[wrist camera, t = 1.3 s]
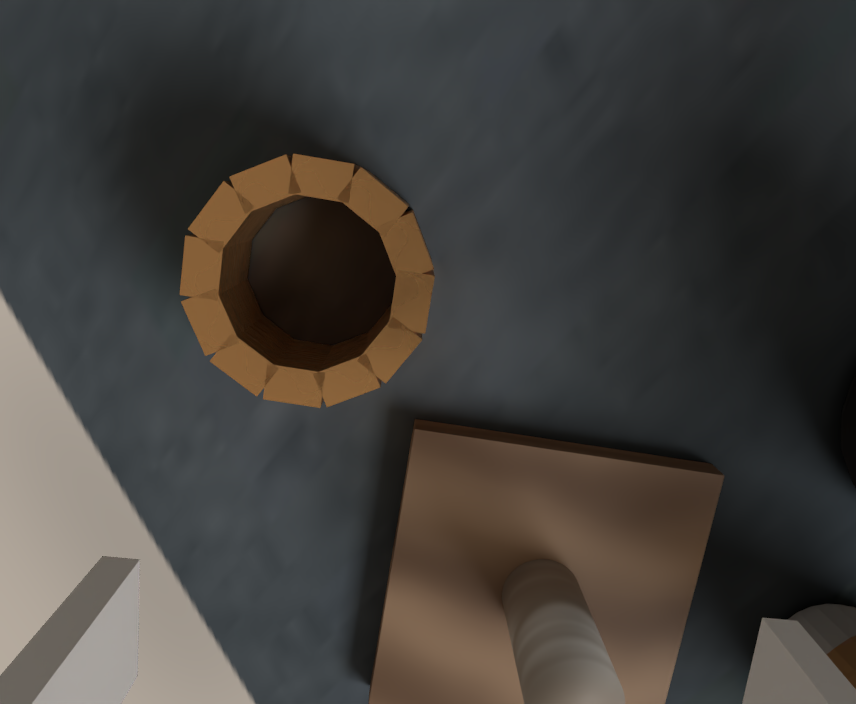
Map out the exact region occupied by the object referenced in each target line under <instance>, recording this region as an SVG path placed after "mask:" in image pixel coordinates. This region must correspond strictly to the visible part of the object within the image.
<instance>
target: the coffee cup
mask: <svg viewBox="0 0 856 704" xmlns="http://www.w3.org/2000/svg"><path fill="white" fill-rule="evenodd" d="M787 620H794V621H798V622H799V623H800V624H801V625H802V627H803V628H804V629H805V630H806V631H807V632H808V634H809V635H810V636H811V637H812V638H813V640H814V641H815V642H816V643H817V644H818V645H819V647H820V648H821V649H822V650H823V651H824V653H825V654H826V655H827V656H828V657H829V658H830V660H831V661H832V662H833V663H834V664H835V665H836V667H837V668H838V669H839V670H840V671H841V673H842V674H843V675H844V676H845V677H846V678H847V680H848V681H849V682H850V683H851V684H852V686H853V687H854V688H855V689H856V608H855V607H850V606H845V605H839V604H822V605H816V606H811V607H809V608H807V609H804V610H802V611H799V612H797V613H796V614H794V615H793V616H792V617H790V618H789V619H787Z"/></svg>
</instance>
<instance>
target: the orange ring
mask: <svg viewBox="0 0 856 704" xmlns="http://www.w3.org/2000/svg"><path fill="white" fill-rule="evenodd" d="M230 180H231V181H223V182H222V184H221V185H220V186H219V188H218V189H217V190H216V192H215V193H214V194H213V196H212V197H211V199H210V200H209V201H208V203H207V204H206V205H205V207H204V208H203V209H202V211H201V212H200V213H199V215H198V216H197V217H196V219H195V220H194V221H193V223H192V224H191V225H190V227H189V228H188V230H190V231H191V232H192V233H193V234H191V235H185V244H184V254H183V265H182V275H181V286H180V295H184V296H190V298H188V299H185V300H183V301H181V303H182V305H183V308H184V310H185V312H186V314H187V316H188V319H189V321H190V323H191V325H192V327H193V330H194V332H195V334H196V336H197V338H198V341H199V343H200V345H201V347H202V349H203V352H204V354H205V356H206V355H209V354H211V353H214V352H216V354H215V355H214V356H213V358H212V359H211V360H210V362H212V363H213V364H214V365H215V366H217V367H218V368H219V369H221V370H222V371H223V372H225V373H226V374H227V375H229V376H230V377H231V378H233V379H234V380H235V381H237V382H238V383H239V384H241V385H242V386H243V387H245V388H246V389H247V390H249V391H250V392H251V393H253V394H254V395H255V396H258V394H259V393H260V392H261V391H262V389H263V388H264V387H265V388H264V396H263V399H265V400H272V401H278V402H285V403H291V404H298V405H305V406H311V407H318V408H320V407H321V405H322V403H323V401H325V404H326V406H327V407H329V406H332V405H334V404H337V403H340V402H342V401H345V400H348V399H350V398H353V397H356V396H358V395H361V394H364V393H367V392H369V391H372V390H375V389H377V388H380V387H381V381H383V382H384V383H387V381H388V380H389V379H390V378H391V377H392V375H393V374H394V373H395V372H396V371H397V369H398V368H399V367H400V366H401V365H402V363H403V362H404V361H405V360H406V359H407V357H408V356H409V355H410V354H411V353H412V351H413V350H414V349H415V348H416V347H417V345H418V344H419V343H420V342H421V341H422V333H425V331H426V325H427V319H428V313H429V307H430V301H431V295H432V289H433V283H434V277H435V275H434V271H433V269H434V267H433V264H432V260H431V256H430V254H429V251H428V248H427V246H426V243H425V240H424V238H423V235H422V232H421V230H420V227H419V224H418V222H417V219H416V216H415V214H414V211H413V209H412V210H410V211H407V212H405V210H406V209H407V208H408V207H409V204H408V203H407V202H406V201H405V200H403V199H402V198H401V197H400V196H399V195H397V194H396V193H395V192H394V191H393V190H391V189H390V188H389V187H388V186H387V185H385V184H384V183H383V182H382V181H381V180H379V179H378V178H377V177H376V176H375V175H373V174H372V173H371V172H370V171H368V170H366V169H364V168H362V167H360V166H358V165H355V164H352V163H346V162H340V161H334V160H328V159H322V158H316V157H310V156H304V155H299V154H293V156H290V155H287V154H285V155H283V156H280V157H278V158H275V159H273V160H270V161H268V162H265V163H263V164H260V165H258V166H255V167H252V168H250V169H247V170H245V171H242V172H240V173H237V174H235V175H232V176H230ZM307 196H308V197H314V198H320V199H326V200H332V201H338V202H343V203H344V204H345V205H346V206H347V207H349V208H350V209H351V210H352V211H354V212H355V213H356V214H357V215H358V216H360V217H361V218H362V219H363V220H365V221H366V222H367V223H368V224H369V225H371V226H372V227H373V228H374V229H376V230H377V231H378V232H379V233H380V236H381V238H382V241H383V244H384V246H385V249H386V251H387V254H388V256H389V259H390V262H391V264H392V267H393V269H394V272H395V274H396V281H395V287H394V294H393V300H392V304H391V305H390V306H389V308H388V309H387V310H386V311H385V312H384V314H383V315H382V316H381V317H380V319H379V320H378V321H377V322H376V323H375V325H374V326H373V327H372V328H371V330H370V331H369V332H367V333H364V334H362V335H359V336H356V337H354V338H351V339H348V340H346V341H343V342H340V343H338V344H335V345H328V344H321V343H315V342H308V341H302V340H296V339H293V338H292V337H291V336H290V335H288V334H287V333H286V332H284V331H283V330H282V329H281V328H279V327H278V326H277V325H275V324H274V323H273V322H272V321H270V320H269V319H268V318H266V317H265V316H264V315H263V313H262V311H261V308H260V306H259V304H258V301H257V299H256V297H255V294H254V292H253V290H252V288H251V285H250V283H249V281H248V273H249V264H250V255H251V246H252V240H253V238H254V237H255V236H256V234H257V233H258V232H259V230H260V229H261V228H262V226H263V225H264V224H265V223H266V221H267V220H268V219H269V217H270V216H271V215H272V213H273V212H274V211H275V209H276V208H279V207H281V206H284V205H287V204H289V203H292V202H294V201H297V200H299V199H302V198H304V197H307ZM404 212H405V213H404Z"/></svg>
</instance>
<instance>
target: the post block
mask: <svg viewBox="0 0 856 704" xmlns="http://www.w3.org/2000/svg"><path fill="white" fill-rule="evenodd" d="M723 480H724V475H723V474H722V473H721V472H720V471H719V470H718V469H717V468H716V467H714V466H713V465H712V464H710V463H703V462H697V461H690V460H684V459H677V458H671V457H664V456H657V455H651V454H644V453H638V452H631V451H624V450H618V449H611V448H605V447H598V446H591V445H585V444H578V443H572V442H565V441H558V440H552V439H545V438H539V437H532V436H525V435H519V434H512V433H506V432H499V431H492V430H486V429H479V428H473V427H466V426H459V425H453V424H446V423H440V422H433V421H426V420H420V419H415V420H414V426H413V432H412V438H411V444H410V450H409V456H408V462H407V468H406V474H405V480H404V486H403V492H402V498H401V504H400V510H399V516H398V522H397V528H396V534H395V540H394V546H393V552H392V558H391V564H390V570H389V576H388V582H387V588H386V594H385V600H384V606H383V612H382V618H381V624H380V630H379V636H378V642H377V648H376V654H375V660H374V666H373V672H372V678H371V684H370V692H369V704H665V701H666V697H667V693H668V690H669V686H670V682H671V678H672V674H673V671H674V667H675V663H676V659H677V655H678V651H679V648H680V644H681V640H682V636H683V632H684V629H685V625H686V621H687V617H688V613H689V609H690V606H691V602H692V598H693V594H694V590H695V587H696V583H697V579H698V575H699V571H700V567H701V564H702V560H703V556H704V552H705V548H706V545H707V541H708V537H709V533H710V529H711V525H712V522H713V518H714V514H715V510H716V506H717V503H718V499H719V495H720V491H721V487H722V484H723Z"/></svg>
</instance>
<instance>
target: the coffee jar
mask: <svg viewBox="0 0 856 704" xmlns="http://www.w3.org/2000/svg"><path fill="white" fill-rule="evenodd" d="M841 451H842V453H843V456H844V459H845V462H846V465H847V468H848V471H849V474H850V476H851V479H852V482H853V484H854V486H855V487H856V375H855V377H854V378H853V380H852V382H851V385H850V388H849V391H848V394H847V397H846V400H845V403H844V406H843V409H842V414H841Z"/></svg>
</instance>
